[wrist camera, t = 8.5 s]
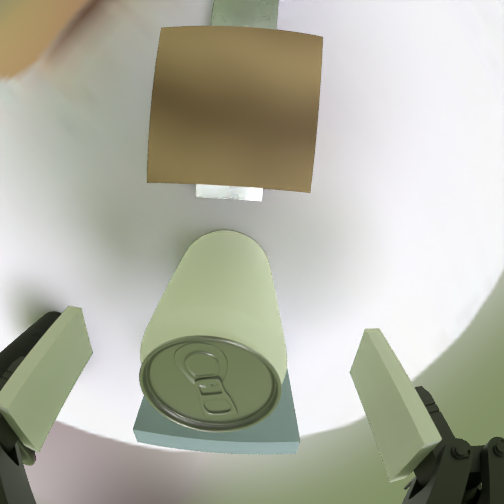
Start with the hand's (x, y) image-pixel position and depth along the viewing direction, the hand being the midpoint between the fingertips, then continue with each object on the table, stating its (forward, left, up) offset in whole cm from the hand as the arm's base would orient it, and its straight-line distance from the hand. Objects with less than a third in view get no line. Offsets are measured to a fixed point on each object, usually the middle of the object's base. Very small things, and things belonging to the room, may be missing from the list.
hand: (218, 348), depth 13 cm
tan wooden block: (-11, 0, -10) cm, 14 cm away
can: (0, 0, -10) cm, 10 cm away
